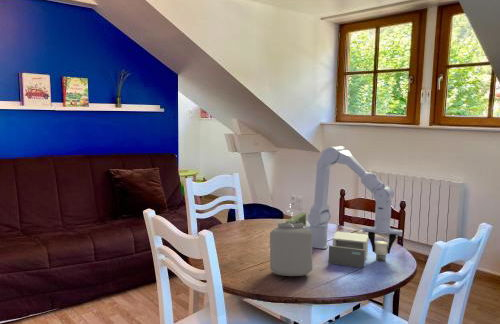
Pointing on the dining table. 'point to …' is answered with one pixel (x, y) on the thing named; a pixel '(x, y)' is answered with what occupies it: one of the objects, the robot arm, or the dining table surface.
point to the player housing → (351, 241)
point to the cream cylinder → (381, 248)
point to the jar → (291, 249)
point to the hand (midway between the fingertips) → (381, 251)
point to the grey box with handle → (346, 256)
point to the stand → (380, 258)
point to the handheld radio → (298, 219)
